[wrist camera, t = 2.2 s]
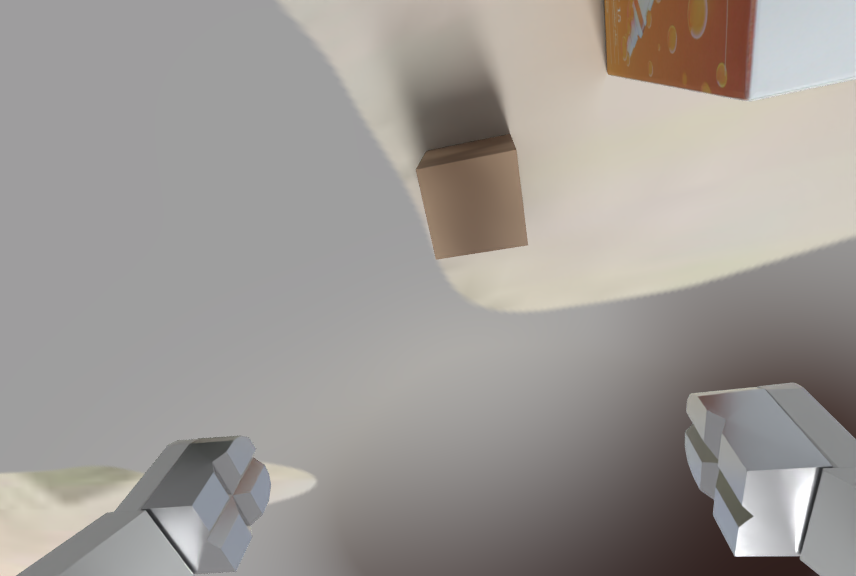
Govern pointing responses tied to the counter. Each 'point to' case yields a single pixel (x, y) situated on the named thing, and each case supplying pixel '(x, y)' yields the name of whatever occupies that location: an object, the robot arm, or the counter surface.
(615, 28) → the small box
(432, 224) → the walnut cube
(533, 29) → the counter surface
